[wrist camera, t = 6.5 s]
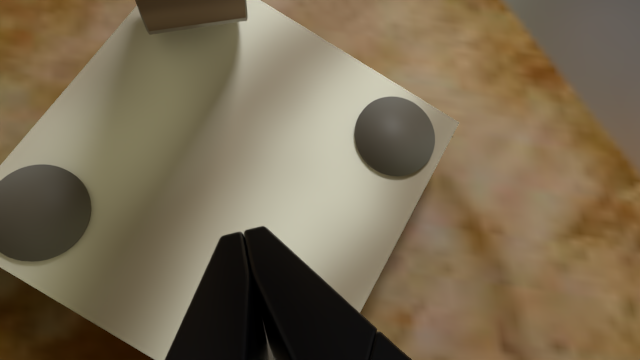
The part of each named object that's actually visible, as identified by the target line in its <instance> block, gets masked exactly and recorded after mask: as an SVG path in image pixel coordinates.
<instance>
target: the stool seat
mask: <svg viewBox="0 0 640 360" xmlns="http://www.w3.org/2000/svg"><path fill="white" fill-rule="evenodd" d="M246 3H247V14H248V18H247V21H241V22H234V23H228V24H221V25H214V26H207V27H200V28H193V29H186V30H179V31H172V32H166V33H159V34H152V35H150V34H149V33H148V32H147V30H146V28H145V26H144V23H143V21H142V18H141V15H140V13H139V10H138V7H137V6H136V7H135V8H134V10H133V11H132V12H131V13H130V14H129V15H128V17H127V18H126V19H125V20H124V21H123V22H122V24H121V25H120V26H119V27H118V28H117V29H116V31H115V32H114V33H113V34H112V35H111V36H110V38H109V39H108V40H107V41H106V42H105V43H104V45H103V46H102V47H101V48H100V49H99V51H98V52H97V53H96V54H95V55H94V56H93V58H92V59H91V60H90V61H89V62H88V63H87V65H86V66H85V67H84V68H83V69H82V70H81V72H80V73H79V74H78V75H77V76H76V77H75V79H74V80H73V81H72V82H71V83H70V85H69V86H68V87H67V88H66V89H65V90H64V92H63V93H62V94H61V95H60V96H59V97H58V99H57V100H56V101H55V102H54V103H53V104H52V106H51V107H50V108H49V109H48V110H47V111H46V113H45V114H44V115H43V116H42V117H41V119H40V120H39V121H38V122H37V123H36V124H35V126H34V127H33V128H32V129H31V130H30V131H29V133H28V134H27V135H26V136H25V137H24V138H23V140H22V141H21V142H20V143H19V144H18V145H17V147H16V148H15V149H14V150H13V151H12V153H11V154H10V155H9V156H8V157H7V158H6V160H5V161H4V162H3V163H2V164H1V165H0V267H1V268H2V269H4V270H6V271H7V272H9V273H11V274H12V275H14V276H16V277H17V278H19V279H21V280H22V281H24V282H26V283H27V284H29V285H31V286H32V287H34V288H36V289H37V290H39V291H41V292H42V293H44V294H46V295H47V296H49V297H51V298H52V299H54V300H56V301H57V302H59V303H61V304H62V305H64V306H66V307H67V308H69V309H71V310H72V311H74V312H76V313H77V314H79V315H81V316H82V317H84V318H86V319H87V320H89V321H91V322H92V323H94V324H96V325H98V326H99V327H101V328H103V329H104V330H106V331H108V332H109V333H111V334H113V335H114V336H116V337H118V338H119V339H121V340H123V341H124V342H126V343H128V344H129V345H131V346H133V347H134V348H136V349H138V350H139V351H141V352H143V353H144V354H146V355H148V356H149V357H151V358H153V359H154V360H165V358H166V356H167V353H168V351H169V349H170V347H171V345H172V342H173V340H174V338H175V336H176V334H177V331H178V329H179V327H180V325H181V323H182V320H183V318H184V316H185V314H186V312H187V309H188V307H189V305H190V303H191V301H192V298H193V296H194V294H195V292H196V290H197V287H198V285H199V283H200V281H201V278H202V276H203V274H204V272H205V270H206V267H207V265H208V263H209V261H210V259H211V256H212V254H213V252H214V250H215V248H216V245H217V243H218V241H219V239H220V237H221V236H223V235H227V234H231V233H235V232H242V233H243V235H244V231H245V230H247V229H251V228H256V227H260V226H265V227H266V228H268V229H269V230H270V231H271V232H272V233H273V234H274V235H275V236H276V237H278V238H279V239H280V240H281V241H282V242H283V243H284V244H285V245H286V246H287V247H288V248H290V249H291V250H292V251H293V252H294V253H295V254H296V255H297V256H298V257H299V258H300V259H302V260H303V261H304V262H305V263H306V264H307V265H308V266H309V267H310V268H311V269H312V270H314V271H315V272H316V273H317V274H318V275H319V276H320V277H321V278H322V279H323V280H324V281H326V282H327V283H328V284H329V285H330V286H331V287H332V288H333V289H334V290H335V291H336V292H337V293H339V294H340V295H341V296H342V297H343V298H344V299H345V300H346V301H347V302H348V303H349V304H351V305H352V306H353V307H354V308H355V309H356V310H357V311H358V312H359V313H360V312H361V310H362V308H363V306H364V304H365V302H366V300H367V298H368V296H369V295H370V293H371V291H372V289H373V287H374V285H375V283H376V281H377V279H378V277H379V275H380V273H381V272H382V270H383V268H384V266H385V264H386V262H387V260H388V258H389V256H390V254H391V252H392V250H393V249H394V247H395V245H396V243H397V241H398V239H399V237H400V235H401V233H402V231H403V229H404V227H405V226H406V224H407V222H408V220H409V218H410V216H411V214H412V212H413V210H414V208H415V206H416V204H417V203H418V201H419V199H420V197H421V195H422V193H423V191H424V189H425V187H426V185H427V183H428V181H429V180H430V178H431V176H432V174H433V172H434V170H435V168H436V166H437V164H438V162H439V160H440V158H441V157H442V155H443V153H444V151H445V149H446V147H447V145H448V143H449V141H450V139H451V137H452V135H453V134H454V132H455V130H456V128H457V126H458V124H459V122H458V121H456V120H454V119H453V118H451V117H449V116H448V115H446V114H445V113H443V112H441V111H440V110H438V109H436V108H435V107H433V106H432V105H430V104H428V103H427V102H425V101H423V100H422V99H420V98H419V97H417V96H415V95H414V94H412V93H410V92H409V91H407V90H406V89H404V88H402V87H401V86H399V85H397V84H396V83H394V82H393V81H391V80H389V79H388V78H386V77H384V76H383V75H381V74H379V73H378V72H376V71H375V70H373V69H371V68H370V67H368V66H366V65H365V64H363V63H362V62H360V61H358V60H357V59H355V58H353V57H352V56H350V55H349V54H347V53H345V52H344V51H342V50H340V49H339V48H337V47H336V46H334V45H332V44H331V43H329V42H327V41H326V40H324V39H323V38H321V37H319V36H318V35H316V34H314V33H313V32H311V31H309V30H308V29H306V28H305V27H303V26H301V25H300V24H298V23H296V22H295V21H293V20H292V19H290V18H288V17H287V16H285V15H283V14H282V13H280V12H279V11H277V10H275V9H274V8H272V7H270V6H269V5H267V4H266V3H264V2H262V1H261V0H246ZM264 328H265V327H264ZM265 332H266V331H265ZM266 338H267V335H266ZM267 343H268V339H267ZM268 352H269V360H274V359H273V356H272V353H271V349H270V346H269V343H268Z"/></svg>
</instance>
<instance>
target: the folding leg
mask: <svg viewBox="0 0 640 360" xmlns="http://www.w3.org/2000/svg"><path fill="white" fill-rule="evenodd" d="M135 1H136V4H137V7H138V10H139V13H140V15H141V18H142V21H143V23H144V26H145V28H146V30H147V32H148V33H149V34H150V35H152V34H159V33H166V32H172V31H179V30H186V29H193V28H200V27H207V26H214V25H221V24H228V23H234V22H241V21H247V18H248V14H247V3H246V0H135Z"/></svg>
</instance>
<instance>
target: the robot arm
mask: <svg viewBox="0 0 640 360" xmlns="http://www.w3.org/2000/svg"><path fill="white" fill-rule="evenodd" d="M264 327H265V328H264ZM265 331H266V332H265ZM266 335H267V338H266ZM267 339H268V343H269V346H270V349H271V353H272V356H273V359H274V360H412V359H411V358H409V357H408V356H407V355H406V354H405V353H404V352H402V351H401V350H400V349H399V348H398V347H397V346H396V345H394V344H393V343H392V342H391V341H390V340H389V339H388V338H387V337H386V336H385V335H384V334H382V333H381V332H377V328H376V327H375V326H373V325H372V324H371V323H370V322H369V321H368V320H367V319H366V318H365V317H364V316H363V315H361V314H360V313H359V312H358V311H357V310H356V309H355V308H354V307H353V306H352V305H351V304H349V303H348V302H347V301H346V300H345V299H344V298H343V297H342V296H341V295H340V294H339V293H337V292H336V291H335V290H334V289H333V288H332V287H331V286H330V285H329V284H328V283H327V282H326V281H324V280H323V279H322V278H321V277H320V276H319V275H318V274H317V273H316V272H315V271H314V270H312V269H311V268H310V267H309V266H308V265H307V264H306V263H305V262H304V261H303V260H302V259H300V258H299V257H298V256H297V255H296V254H295V253H294V252H293V251H292V250H291V249H290V248H288V247H287V246H286V245H285V244H284V243H283V242H282V241H281V240H280V239H279V238H278V237H276V236H275V235H274V234H273V233H272V232H271V231H270V230H269V229H268V228H266V227H265V226H260V227H256V228H251V229H247V230H245V231H244V235H243V233H242V232H235V233H231V234H227V235H223V236H221V237H220V239H219V241H218V243H217V245H216V248H215V250H214V252H213V254H212V256H211V259H210V261H209V263H208V265H207V267H206V270H205V272H204V274H203V276H202V278H201V281H200V283H199V285H198V287H197V290H196V292H195V294H194V296H193V298H192V301H191V303H190V305H189V307H188V309H187V312H186V314H185V316H184V318H183V320H182V323H181V325H180V327H179V329H178V331H177V334H176V336H175V338H174V340H173V342H172V345H171V347H170V349H169V351H168V353H167V356H166V358H165V360H269V352H268V343H267Z"/></svg>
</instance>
